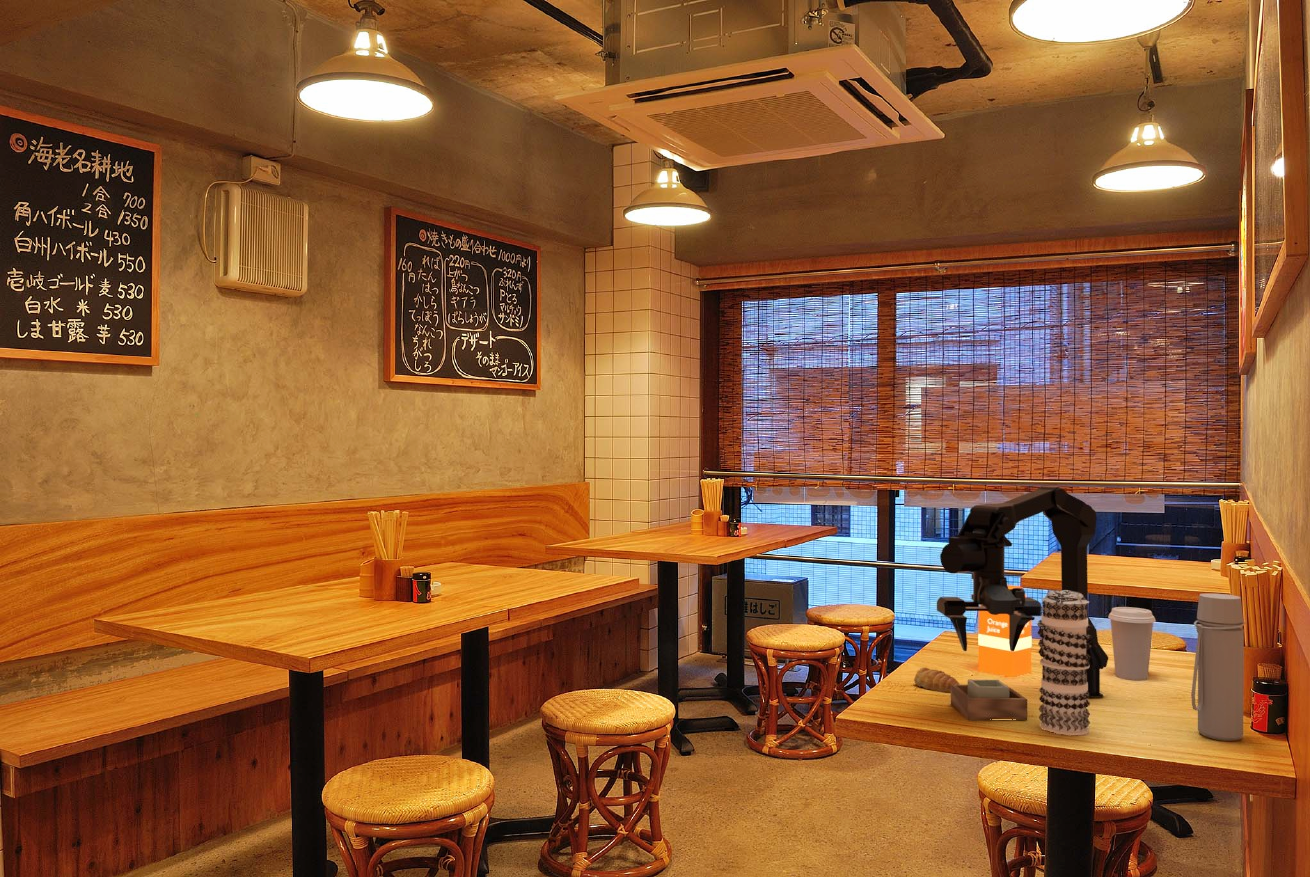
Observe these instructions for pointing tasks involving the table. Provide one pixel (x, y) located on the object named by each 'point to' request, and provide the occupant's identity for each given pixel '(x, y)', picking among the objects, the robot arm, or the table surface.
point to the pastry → (934, 680)
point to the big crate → (988, 705)
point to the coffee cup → (1131, 641)
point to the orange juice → (1003, 646)
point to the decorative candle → (1064, 663)
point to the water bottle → (1219, 667)
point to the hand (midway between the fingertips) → (988, 650)
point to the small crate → (987, 689)
